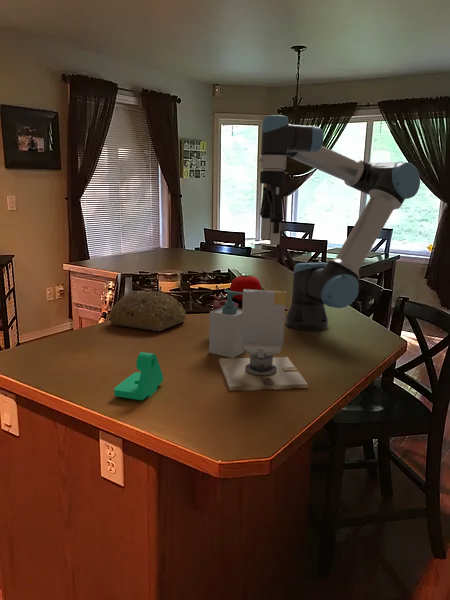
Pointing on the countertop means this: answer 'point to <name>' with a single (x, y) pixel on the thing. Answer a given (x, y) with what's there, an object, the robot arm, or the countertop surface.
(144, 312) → the bread
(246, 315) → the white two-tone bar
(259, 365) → the metal spool
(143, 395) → the camera mount
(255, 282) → the tomato
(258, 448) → the countertop surface
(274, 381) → the board
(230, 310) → the soap bottle
